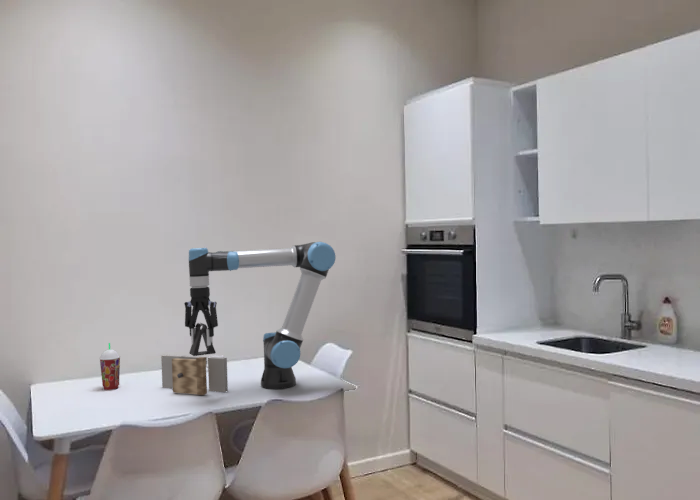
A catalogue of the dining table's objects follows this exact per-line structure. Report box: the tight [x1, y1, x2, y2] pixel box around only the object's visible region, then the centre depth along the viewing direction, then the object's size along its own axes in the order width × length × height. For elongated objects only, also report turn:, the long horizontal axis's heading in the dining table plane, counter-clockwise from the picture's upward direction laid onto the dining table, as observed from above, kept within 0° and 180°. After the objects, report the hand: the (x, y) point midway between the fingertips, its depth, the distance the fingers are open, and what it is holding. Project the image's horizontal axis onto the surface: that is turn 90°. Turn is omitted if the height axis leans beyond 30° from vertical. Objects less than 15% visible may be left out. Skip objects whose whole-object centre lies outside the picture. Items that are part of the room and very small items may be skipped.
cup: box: [206, 354, 225, 369], centre depth 306 cm, size 8×10×7 cm
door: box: [172, 356, 208, 396], centre depth 258 cm, size 16×3×15 cm, turn 69°
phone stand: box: [188, 322, 216, 357], centre depth 248 cm, size 9×6×12 cm, turn 118°
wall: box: [160, 354, 229, 393], centre depth 267 cm, size 32×2×14 cm, turn 68°
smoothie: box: [99, 342, 121, 391], centre depth 274 cm, size 8×8×20 cm
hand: (202, 344), depth 248 cm, fingers closed on phone stand, 6 cm apart
